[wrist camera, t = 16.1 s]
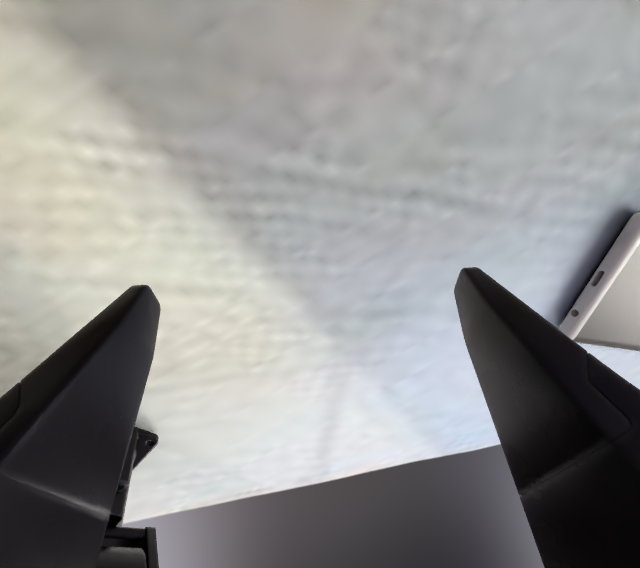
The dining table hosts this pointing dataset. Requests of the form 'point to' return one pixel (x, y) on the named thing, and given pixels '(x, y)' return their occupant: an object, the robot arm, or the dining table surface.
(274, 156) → the dining table surface
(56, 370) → the robot arm
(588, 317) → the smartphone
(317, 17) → the dining table surface
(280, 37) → the dining table surface
